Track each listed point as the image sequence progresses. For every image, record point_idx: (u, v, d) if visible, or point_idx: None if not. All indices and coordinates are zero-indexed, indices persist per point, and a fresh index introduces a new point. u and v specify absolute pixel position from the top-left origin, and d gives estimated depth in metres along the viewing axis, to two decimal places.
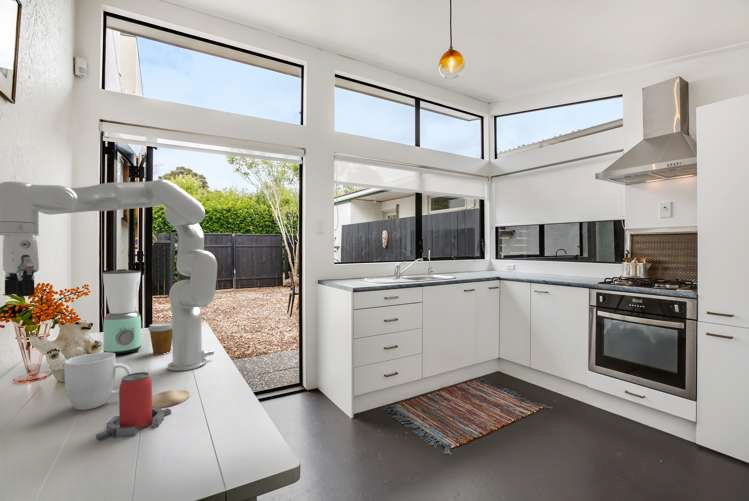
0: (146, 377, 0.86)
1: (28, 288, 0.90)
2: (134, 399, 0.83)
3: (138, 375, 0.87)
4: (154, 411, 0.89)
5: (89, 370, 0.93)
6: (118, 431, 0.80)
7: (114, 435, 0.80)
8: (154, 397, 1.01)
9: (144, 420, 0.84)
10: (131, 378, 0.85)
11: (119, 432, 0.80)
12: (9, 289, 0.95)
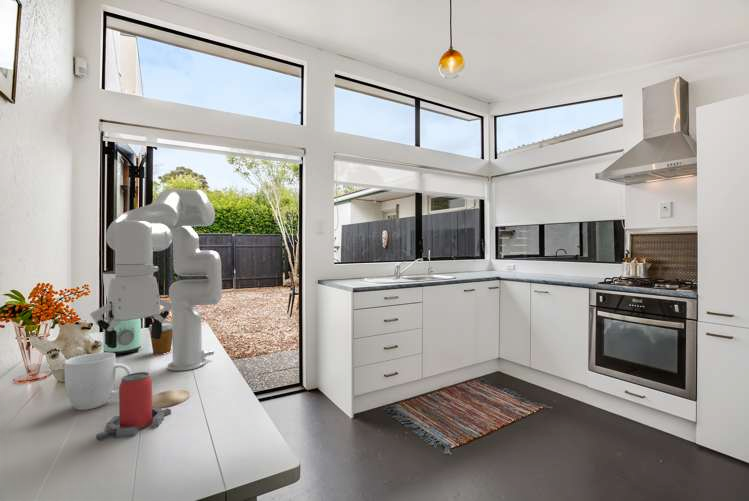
0: (146, 377, 0.86)
1: None
2: (134, 399, 0.83)
3: (138, 375, 0.87)
4: (154, 411, 0.89)
5: (89, 370, 0.93)
6: (118, 431, 0.80)
7: (114, 435, 0.80)
8: (154, 397, 1.01)
9: (144, 420, 0.84)
10: (131, 378, 0.85)
11: (119, 432, 0.80)
12: None
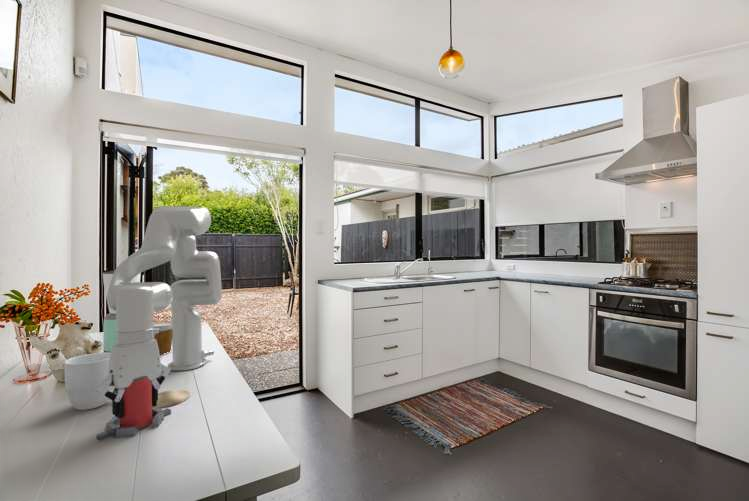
0: (146, 377, 0.86)
1: None
2: (134, 399, 0.83)
3: None
4: (154, 411, 0.89)
5: (89, 370, 0.93)
6: (118, 431, 0.80)
7: (114, 435, 0.80)
8: None
9: (144, 420, 0.84)
10: None
11: (119, 432, 0.80)
12: None
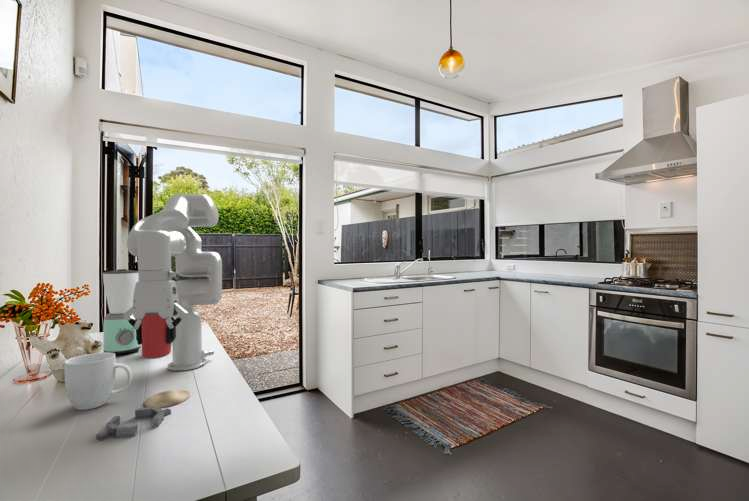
0: (156, 314, 0.93)
1: (174, 334, 0.96)
2: (144, 330, 0.92)
3: None
4: (154, 411, 0.89)
5: (89, 370, 0.93)
6: (118, 431, 0.80)
7: (114, 435, 0.80)
8: (154, 397, 1.01)
9: (152, 352, 0.92)
10: None
11: (119, 432, 0.80)
12: (141, 339, 0.94)
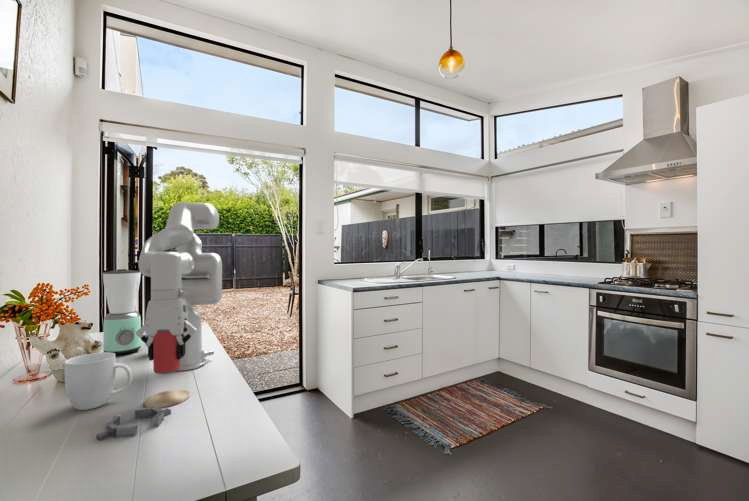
0: (168, 331, 0.99)
1: (184, 350, 1.02)
2: (156, 347, 0.98)
3: None
4: (154, 411, 0.89)
5: (89, 370, 0.93)
6: (118, 431, 0.80)
7: (114, 435, 0.80)
8: (154, 397, 1.01)
9: (163, 367, 0.97)
10: None
11: (119, 432, 0.80)
12: None
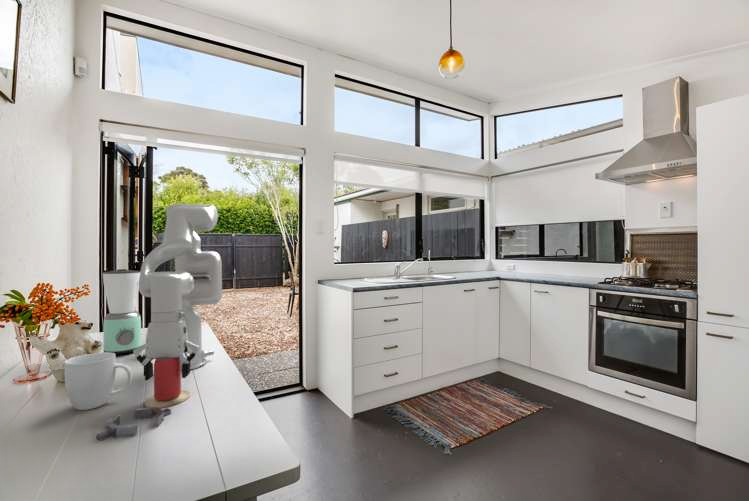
0: (168, 358, 0.99)
1: (189, 369, 1.02)
2: (156, 374, 0.98)
3: None
4: (154, 411, 0.89)
5: (89, 370, 0.93)
6: (118, 431, 0.80)
7: (114, 435, 0.80)
8: None
9: (164, 395, 0.98)
10: None
11: (119, 432, 0.80)
12: (149, 374, 0.99)
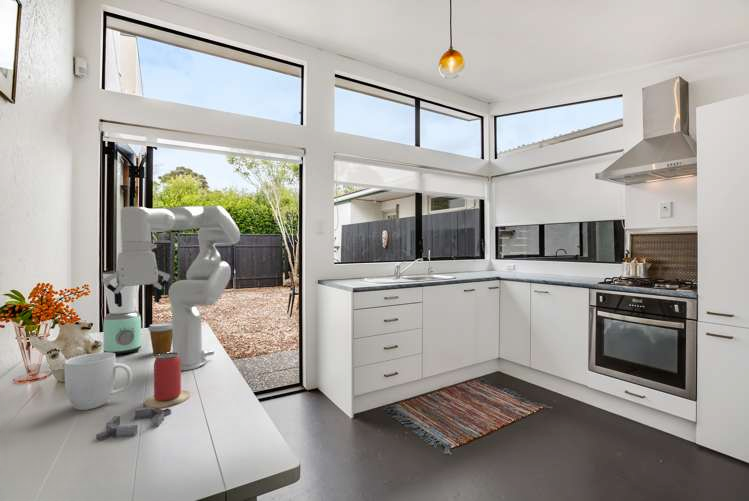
0: (168, 358, 0.99)
1: None
2: (156, 374, 0.98)
3: (172, 355, 1.02)
4: (154, 411, 0.89)
5: (89, 370, 0.93)
6: (118, 431, 0.80)
7: (114, 435, 0.80)
8: None
9: (164, 395, 0.98)
10: (164, 356, 1.01)
11: (119, 432, 0.80)
12: None
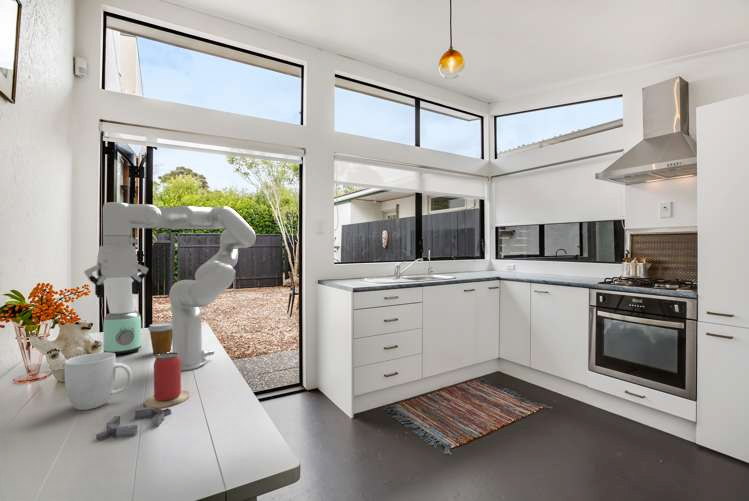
0: (168, 358, 0.99)
1: None
2: (156, 374, 0.98)
3: (172, 355, 1.02)
4: (154, 411, 0.89)
5: (89, 370, 0.93)
6: (118, 431, 0.80)
7: (114, 435, 0.80)
8: None
9: (164, 395, 0.98)
10: (164, 356, 1.01)
11: (119, 432, 0.80)
12: None
